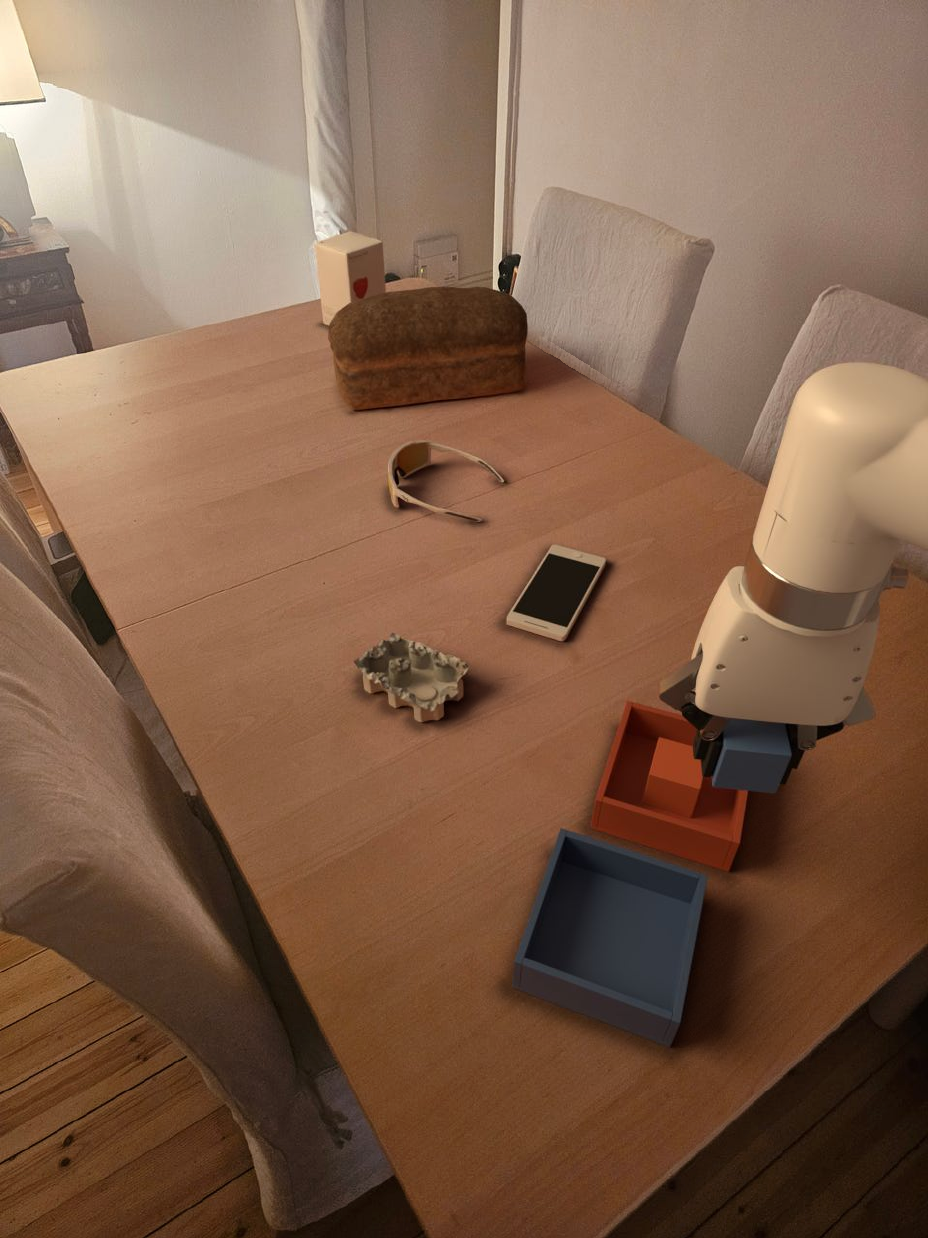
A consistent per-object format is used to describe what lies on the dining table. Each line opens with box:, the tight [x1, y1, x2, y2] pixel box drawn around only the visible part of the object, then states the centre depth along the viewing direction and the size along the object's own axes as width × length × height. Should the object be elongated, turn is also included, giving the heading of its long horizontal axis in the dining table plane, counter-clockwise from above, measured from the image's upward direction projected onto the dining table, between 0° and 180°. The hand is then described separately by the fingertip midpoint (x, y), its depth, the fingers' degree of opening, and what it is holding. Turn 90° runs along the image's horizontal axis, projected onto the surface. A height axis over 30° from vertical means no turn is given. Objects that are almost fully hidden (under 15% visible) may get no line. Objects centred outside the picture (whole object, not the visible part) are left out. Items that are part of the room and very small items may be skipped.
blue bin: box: [511, 827, 709, 1048], centre depth 64 cm, size 12×12×4 cm
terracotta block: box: [642, 737, 703, 818], centre depth 74 cm, size 4×4×4 cm
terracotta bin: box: [590, 700, 749, 873], centre depth 75 cm, size 12×12×4 cm
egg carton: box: [353, 632, 470, 723], centre depth 85 cm, size 11×8×4 cm
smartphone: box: [506, 544, 607, 642], centre depth 97 cm, size 7×16×1 cm, turn 155°
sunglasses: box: [387, 439, 505, 523], centre depth 113 cm, size 14×15×5 cm
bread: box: [327, 286, 529, 411], centre depth 132 cm, size 15×32×16 cm, turn 103°
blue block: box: [712, 718, 792, 794], centre depth 60 cm, size 4×4×4 cm
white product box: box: [314, 230, 387, 327], centre depth 151 cm, size 9×9×15 cm
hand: (741, 763), depth 61 cm, fingers closed on blue block, 4 cm apart
